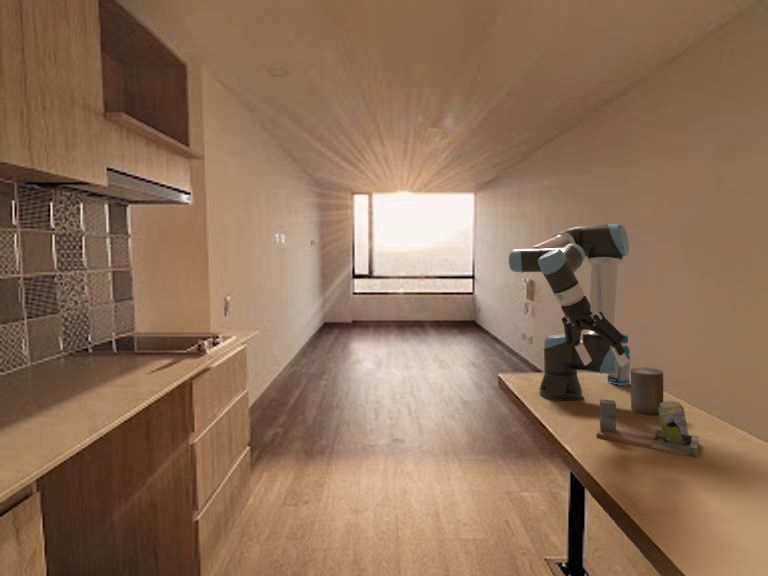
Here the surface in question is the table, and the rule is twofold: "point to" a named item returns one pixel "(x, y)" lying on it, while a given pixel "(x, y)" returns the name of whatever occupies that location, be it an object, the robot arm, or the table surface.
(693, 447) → the pull strip
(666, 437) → the beverage can
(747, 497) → the table surface
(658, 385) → the pillar candle
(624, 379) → the beverage bottle
